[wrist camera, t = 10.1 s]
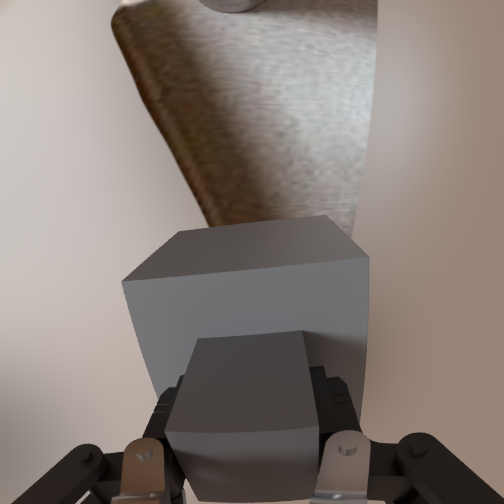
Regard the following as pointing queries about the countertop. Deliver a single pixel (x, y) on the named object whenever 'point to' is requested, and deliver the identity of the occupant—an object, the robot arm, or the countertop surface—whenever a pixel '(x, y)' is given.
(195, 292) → the stepped gray cube pair
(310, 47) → the countertop surface
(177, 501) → the robot arm
